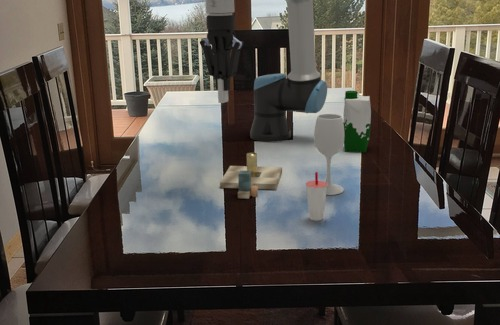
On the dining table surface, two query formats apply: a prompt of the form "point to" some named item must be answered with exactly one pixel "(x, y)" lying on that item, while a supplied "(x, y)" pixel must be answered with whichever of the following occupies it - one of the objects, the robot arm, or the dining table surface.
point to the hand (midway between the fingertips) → (223, 101)
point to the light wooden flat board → (250, 179)
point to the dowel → (254, 191)
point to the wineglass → (329, 143)
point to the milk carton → (356, 122)
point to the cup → (316, 198)
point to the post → (252, 163)
